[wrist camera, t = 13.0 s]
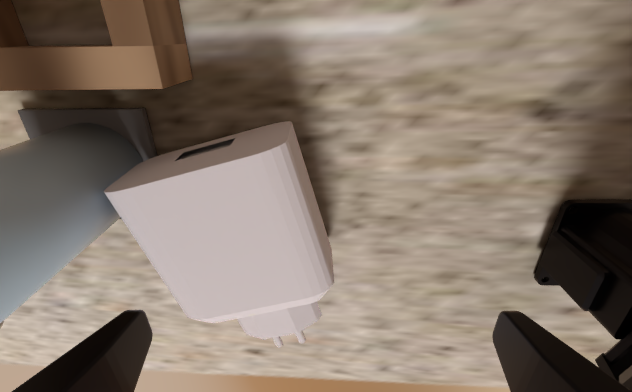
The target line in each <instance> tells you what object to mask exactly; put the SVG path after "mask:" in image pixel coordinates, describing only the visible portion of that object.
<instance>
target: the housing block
mask: <svg viewBox="0 0 632 392" xmlns="http://www.w3.org/2000/svg"><path fill="white" fill-rule="evenodd" d="M100 2H101V6H102V9H103V13H104V16H105V20H106V24H107V27H108V31H109V34H110V38H111V42H112V45H73V46H28V43H27V41H26V38H25V35H24V33H23V30H22V28H21V25H20V22H19V20H18V17H17V15H16V12H15V10H14V7H13V4H12V2H11V0H0V91H14V90H102V89H164V88H167V87H170V86H173V85H176V84H179V83H182V82H185V81H188V80H191V79H193V78H192V73H191V67H190V62H189V56H188V50H187V45H186V39H185V34H184V28H183V23H182V17H181V12H180V6H179V1H178V0H100Z"/></svg>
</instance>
